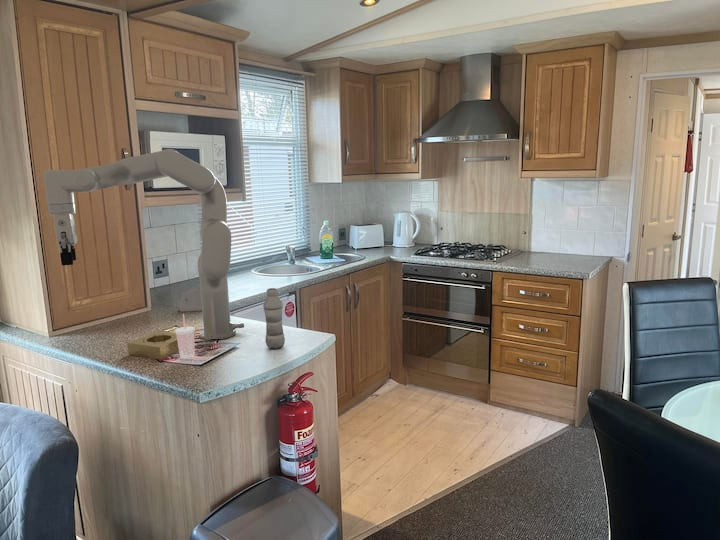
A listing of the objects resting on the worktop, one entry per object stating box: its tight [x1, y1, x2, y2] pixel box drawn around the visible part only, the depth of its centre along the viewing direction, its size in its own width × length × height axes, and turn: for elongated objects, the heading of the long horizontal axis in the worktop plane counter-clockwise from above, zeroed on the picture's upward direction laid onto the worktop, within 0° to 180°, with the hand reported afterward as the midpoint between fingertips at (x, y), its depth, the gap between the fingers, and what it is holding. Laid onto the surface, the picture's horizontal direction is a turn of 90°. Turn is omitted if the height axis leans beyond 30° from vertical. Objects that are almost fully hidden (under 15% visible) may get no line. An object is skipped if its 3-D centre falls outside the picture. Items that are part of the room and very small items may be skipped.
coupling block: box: [126, 330, 179, 360], centre depth 178 cm, size 14×14×4 cm
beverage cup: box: [174, 313, 196, 359], centre depth 171 cm, size 6×6×14 cm
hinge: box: [179, 287, 202, 313], centre depth 231 cm, size 17×5×10 cm, turn 98°
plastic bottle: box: [263, 287, 286, 349], centre depth 176 cm, size 6×7×20 cm
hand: (69, 262), depth 171 cm, fingers open, 9 cm apart
